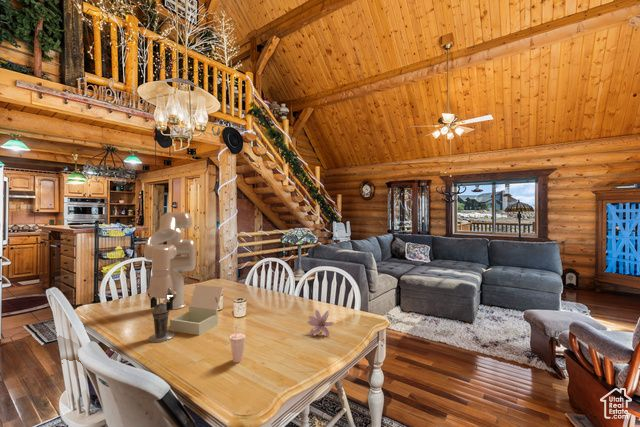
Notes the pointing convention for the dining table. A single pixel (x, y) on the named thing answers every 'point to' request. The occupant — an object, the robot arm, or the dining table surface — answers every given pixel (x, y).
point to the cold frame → (199, 311)
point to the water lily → (319, 323)
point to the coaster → (167, 337)
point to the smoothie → (237, 346)
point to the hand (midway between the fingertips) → (161, 308)
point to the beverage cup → (160, 319)
